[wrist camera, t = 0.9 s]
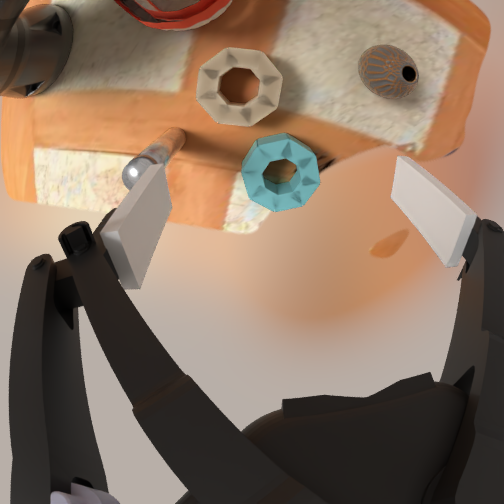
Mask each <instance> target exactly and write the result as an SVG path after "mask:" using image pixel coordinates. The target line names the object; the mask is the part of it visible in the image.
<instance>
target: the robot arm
mask: <svg viewBox="0 0 504 504" xmlns="http://www.w3.org/2000/svg"><path fill="white" fill-rule="evenodd" d="M28 2H29V0H0V96H5V97H11V98H26V97H30V96H33V95H36V94H39V93H41V92H42V91H44V90H45V89H47V88H48V87H49V86H50V85H51V84H52V83H53V82H54V81H55V80H56V78H57V77H58V76H59V74H60V73H61V71H62V69H63V67H64V66H65V63H66V61H67V59H68V56H69V53H70V50H71V45H72V38H73V28H72V22H71V19H70V17H69V15H68V13H67V12H66V11H65V10H64V9H63V8H61V7H59V6H56V5H49V4H41V5H36V6H33V7H30V8H27V9H24V8H25V6H26V5H27V3H28ZM23 9H24V10H23ZM391 198H392V200H393V201H394V202H395V203H396V204H397V205H398V207H399V208H400V209H401V210H402V211H403V212H404V214H405V215H406V216H407V217H408V218H409V220H410V221H411V222H412V223H413V224H414V226H415V227H416V228H417V229H418V231H419V232H420V233H421V234H422V236H423V237H424V238H425V240H426V241H427V242H428V243H429V245H430V246H431V248H432V249H433V250H434V251H435V253H436V254H437V256H438V257H439V258H440V260H441V261H442V263H443V264H444V265H445V267H455V266H458V264H459V261H460V259H461V256H463V257H464V258H465V259H466V262H465V264H464V266H463V269H462V271H461V273H460V275H459V277H458V279H457V280H458V281H459V280H460V278H462V281H461V289H460V296H459V302H458V309H457V314H456V320H455V325H454V330H453V334H452V339H451V343H450V347H449V351H448V355H447V359H446V362H445V366H444V369H443V373H442V376H441V379H440V381H439V382H434V380H433V378H432V375H431V373H430V372H428V373H425V374H422V375H418V376H414V377H411V378H407V379H403V380H400V381H398V382H396V383H394V384H392V385H390V386H389V387H387V388H385V389H383V390H381V391H379V392H377V393H376V394H373V395H371V396H369V397H364V398H360V397H344V396H330V395H319V396H311V397H302V398H293V399H283V400H282V408H281V409H280V410H277V411H274V412H271V413H269V414H266V415H264V416H262V417H260V418H259V419H257V420H255V421H254V422H252V423H251V424H250V425H248V426H247V427H246V428H245V429H243V430H242V431H239V429H238V428H237V427H235V425H234V424H233V423H232V422H231V421H230V420H229V419H228V418H227V417H226V416H225V415H224V414H223V413H222V412H221V411H220V410H219V408H217V406H216V405H215V404H214V403H213V402H212V401H211V400H210V399H209V397H208V396H207V395H206V394H205V393H204V392H203V391H202V390H201V389H200V387H199V386H198V385H197V384H196V383H195V382H194V381H193V379H192V378H191V377H190V376H189V375H186V374H184V373H183V371H182V370H181V369H180V368H179V367H178V365H177V364H176V363H175V362H174V360H173V359H172V358H171V356H170V355H169V354H168V352H167V351H166V350H165V348H164V347H163V346H162V344H161V343H160V342H159V340H158V339H157V338H156V336H155V335H154V333H153V332H152V331H151V329H150V328H149V326H148V325H147V324H146V322H145V321H144V319H143V318H142V316H141V315H140V313H139V312H138V311H137V309H136V307H135V306H134V304H133V303H132V301H131V300H130V298H129V297H128V295H127V294H126V292H125V291H124V289H140V288H141V285H142V282H143V280H144V277H145V274H146V272H147V269H148V266H149V264H150V261H151V258H152V256H153V253H154V251H155V248H156V245H157V243H158V240H159V238H160V236H161V233H162V231H163V228H164V226H165V223H166V221H167V219H168V216H169V214H170V212H171V209H172V203H171V199H170V194H169V189H168V184H167V179H166V174H165V169H164V164H163V163H161V164H154V165H150V166H149V167H148V169H147V170H146V171H145V172H144V174H143V175H142V176H141V177H140V179H139V180H138V181H137V182H136V184H135V185H134V186H133V187H132V189H131V190H130V191H129V193H128V194H127V195H126V197H125V198H124V199H123V201H122V202H121V203H120V205H119V206H118V208H114V209H113V210H111V211H110V212H109V213H108V214H106V216H105V217H104V218H103V220H102V222H101V223H100V224H99V225H98V227H97V228H96V230H95V231H94V232H93V234H92V231H91V228H90V226H89V224H88V223H87V222H85V221H81V222H76V223H74V224H72V225H70V226H68V227H66V228H65V229H64V230H63V231H62V232H61V233H60V235H59V237H58V240H59V242H60V244H61V246H62V248H63V251H64V253H65V255H66V257H67V259H64V260H61V261H58V262H55V263H54V261H53V259H52V257H51V255H49V254H43V255H40V256H38V257H35V258H34V259H33V260H32V261H31V263H30V264H29V265H28V267H27V269H26V272H25V276H24V280H23V284H22V288H21V293H20V298H19V302H18V308H17V313H16V319H15V325H14V332H13V341H12V348H11V359H10V375H9V423H10V438H11V448H12V455H13V461H12V473H11V497H10V498H11V500H10V504H120V503H119V502H118V501H117V500H116V499H115V498H114V497H113V496H111V495H110V494H109V492H108V487H107V482H106V475H105V471H104V468H103V464H102V460H101V456H100V453H99V449H98V446H97V442H96V438H95V434H94V430H93V425H92V421H91V416H90V411H89V406H88V400H87V395H86V388H85V382H84V375H83V368H82V360H81V359H82V358H81V349H80V337H79V319H78V307H80V306H84V308H85V311H86V313H87V316H88V318H89V320H90V322H91V325H92V327H93V330H94V332H95V334H96V337H97V339H98V341H99V343H100V345H101V347H102V349H103V351H104V353H105V356H106V358H107V360H108V362H109V363H110V366H111V367H112V369H113V371H114V373H115V375H116V377H117V379H118V381H119V382H120V384H121V386H122V388H123V389H124V391H125V393H126V395H127V396H128V398H129V400H130V402H131V403H132V405H133V409H132V411H133V414H134V416H135V418H136V419H137V421H138V423H139V424H140V426H141V427H142V429H143V431H144V432H145V433H146V435H147V436H148V438H149V439H150V441H151V442H152V444H153V445H154V447H155V448H156V450H157V451H158V452H159V454H160V455H161V456H162V458H163V459H164V460H165V462H166V463H167V464H168V466H169V467H170V468H171V470H172V471H173V472H174V473H175V475H176V476H177V477H178V478H179V480H180V481H181V482H182V483H183V484H184V486H185V487H186V488H187V489H188V491H187V492H186V493H185V494H184V495H183V497H181V498H180V499H179V500H178V501H177V502H176V503H175V504H504V231H503V229H502V228H501V227H500V226H499V225H498V224H497V223H496V222H494V221H491V220H488V219H483V220H481V219H480V218H479V217H478V216H477V214H476V213H475V212H474V211H473V210H472V209H470V207H468V206H467V205H466V204H465V203H464V202H463V201H462V200H461V199H460V198H458V197H457V196H456V195H455V194H454V193H453V192H452V191H451V190H450V189H448V188H447V187H446V186H445V185H444V184H443V183H441V182H440V181H439V180H438V179H436V178H435V177H434V176H433V175H431V174H430V173H429V172H428V171H426V170H425V169H424V168H422V167H421V166H420V165H419V164H417V163H416V162H415V161H413V160H412V159H411V158H409V157H407V156H397V162H396V169H395V175H394V181H393V187H392V193H391ZM118 279H119V280H120V282H121V284H120V283H119V281H118ZM121 285H122V286H121Z"/></svg>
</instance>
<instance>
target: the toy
mask: <svg viewBox="0 0 504 504" xmlns="http://www.w3.org/2000/svg"><path fill="white" fill-rule="evenodd" d="M114 1H115V2H116V3H117V4H118V5H119V6H121V7H122V8H123V9H124V10H125V11H126V12H128V13H129V14H130V15H131V16H133V17H134V18H135V19H137V20H138V21H139V22H141V23H142V24H144V25H146V26H148V27H151V28H157V29H161V30H166V31H169V30H175V31H186V30H189V29H195V28H198V27H200V26H203V25H205V24H207V23H209V22H210V21H211V20H214V19H216V18H217V17H218V16H220V15H221V14H222V13H223V12H225V11H226V9H227V7H228V6H230V4H231V3H232V0H200V1H199V2H198V3H196V4H194V5H191V6H188V7H186V8H184V9H181V10H179V11H169V12H162V11H161V10H159V9H158V8H157V7H156V6H155V5H154V4H153V3H152V2H151V1H150V0H114Z"/></svg>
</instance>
